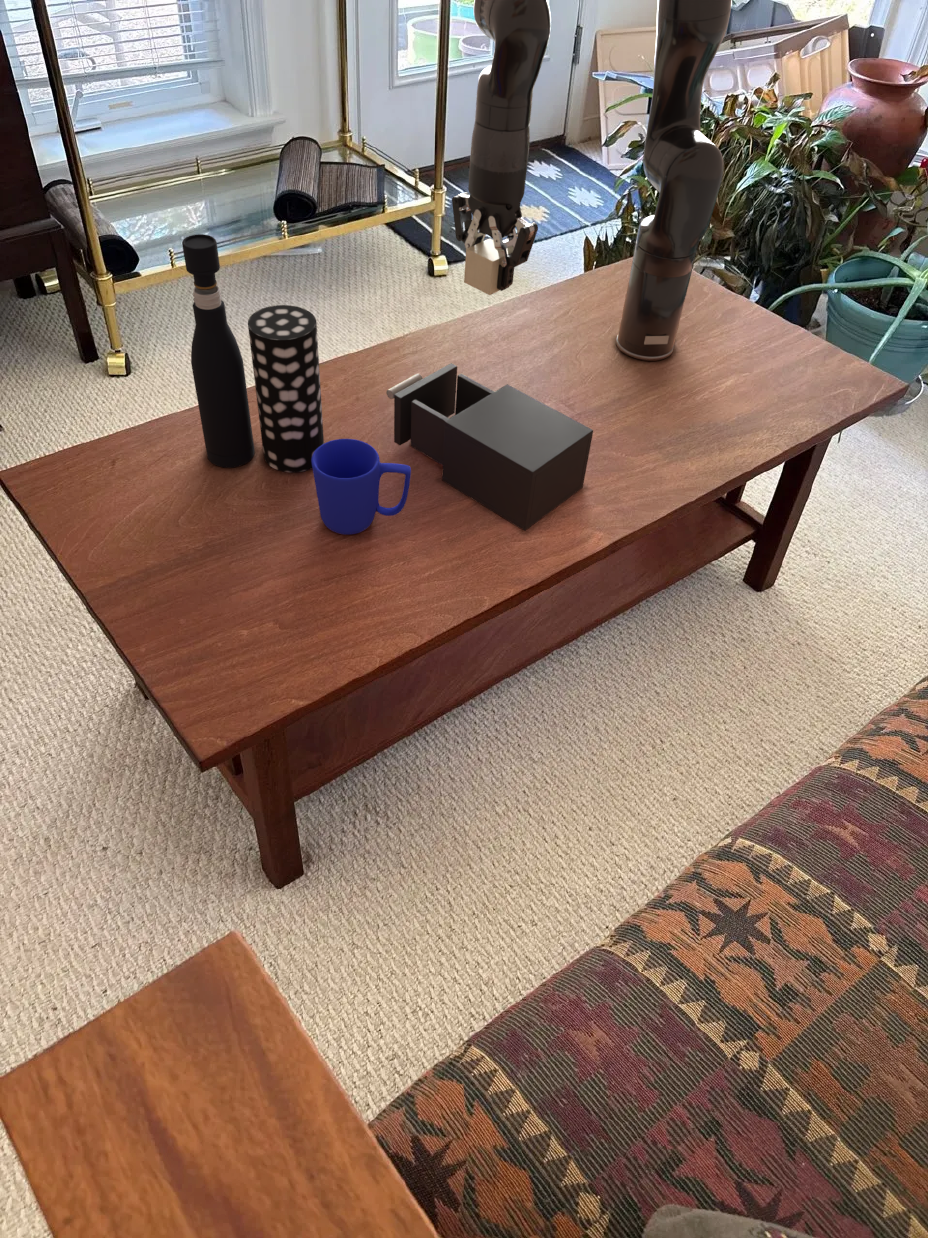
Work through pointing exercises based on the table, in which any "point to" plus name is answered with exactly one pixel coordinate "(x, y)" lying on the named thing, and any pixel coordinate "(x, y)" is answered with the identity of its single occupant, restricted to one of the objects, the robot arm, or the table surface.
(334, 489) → the mug
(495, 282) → the block
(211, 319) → the black bottle
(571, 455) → the cabinet
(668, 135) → the robot arm
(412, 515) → the table surface
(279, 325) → the spotted tube
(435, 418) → the drawer
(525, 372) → the table surface
